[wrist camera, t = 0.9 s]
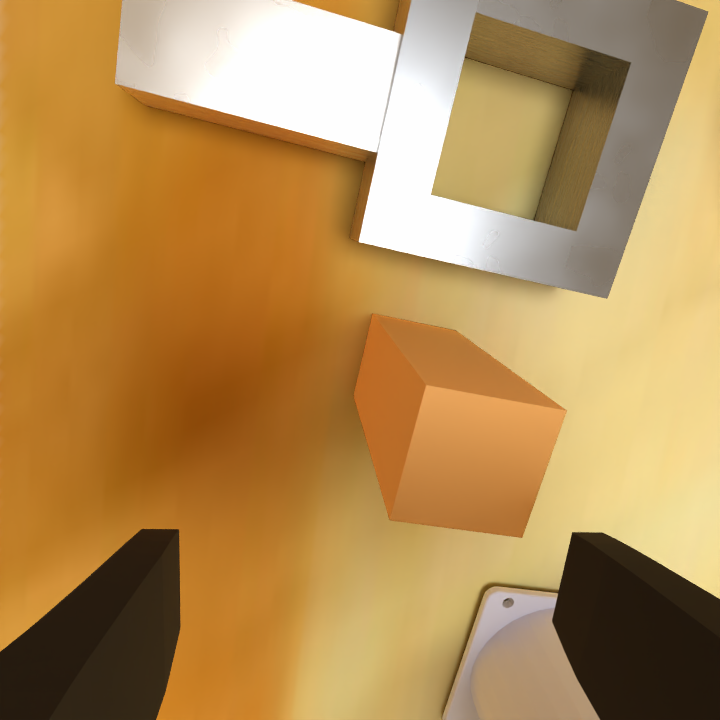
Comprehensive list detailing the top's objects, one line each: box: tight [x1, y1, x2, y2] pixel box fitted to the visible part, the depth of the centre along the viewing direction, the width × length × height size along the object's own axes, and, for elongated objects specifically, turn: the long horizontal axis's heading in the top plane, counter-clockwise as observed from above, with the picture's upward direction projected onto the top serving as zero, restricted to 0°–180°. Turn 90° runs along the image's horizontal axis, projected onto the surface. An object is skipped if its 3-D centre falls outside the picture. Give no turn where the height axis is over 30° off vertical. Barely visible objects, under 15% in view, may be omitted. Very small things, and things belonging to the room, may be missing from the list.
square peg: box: [354, 314, 567, 538], centre depth 14 cm, size 3×3×8 cm
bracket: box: [115, 0, 708, 299], centre depth 14 cm, size 15×8×3 cm, turn 77°
